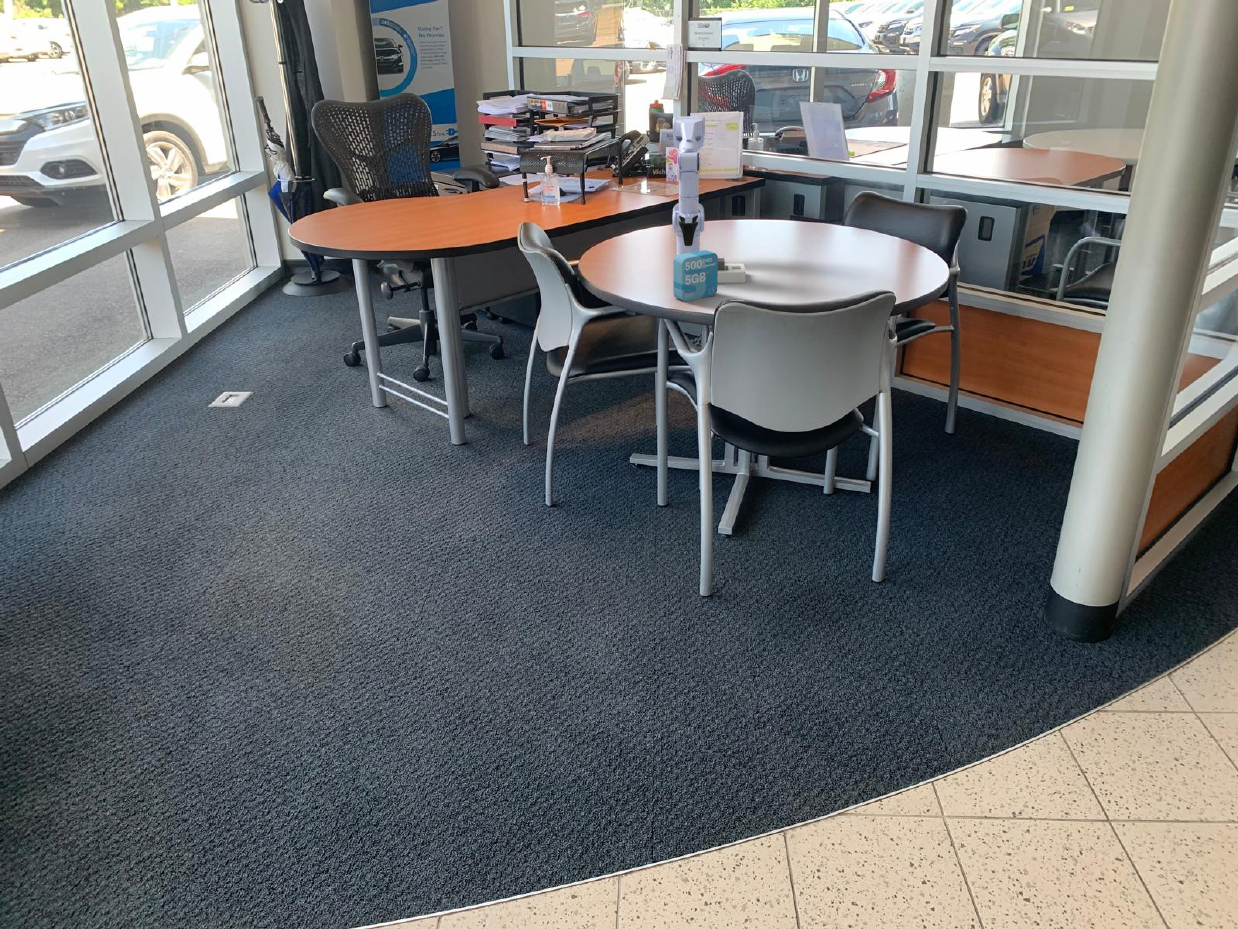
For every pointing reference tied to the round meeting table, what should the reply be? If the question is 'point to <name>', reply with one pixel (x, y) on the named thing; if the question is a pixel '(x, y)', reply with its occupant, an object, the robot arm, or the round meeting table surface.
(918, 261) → the round meeting table surface
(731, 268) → the white socket board
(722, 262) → the plug
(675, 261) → the data package
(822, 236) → the round meeting table surface
